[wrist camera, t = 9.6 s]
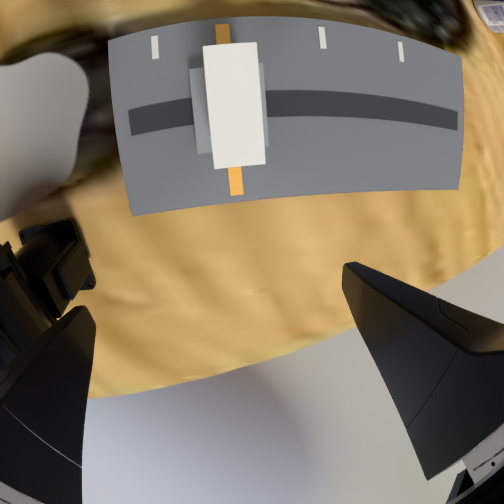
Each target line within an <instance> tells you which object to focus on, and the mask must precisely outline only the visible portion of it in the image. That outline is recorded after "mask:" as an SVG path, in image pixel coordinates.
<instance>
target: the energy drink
mask: <svg viewBox="0 0 504 504" xmlns="http://www.w3.org/2000/svg"><path fill="white" fill-rule="evenodd" d="M473 3H474V6H475V9H476V11H477V13H478V15H479V17H480V19H481V20H482V22H483V23H484V24H485V25H486V26H487V27H488V28H489V29H490V30H491V31H493V32H495V33H504V0H473Z"/></svg>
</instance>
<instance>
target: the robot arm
mask: <svg viewBox="0 0 504 504" xmlns="http://www.w3.org/2000/svg"><path fill="white" fill-rule="evenodd" d="M68 223H70V225H71V227H70V226H69V225H68ZM23 234H24V235H25V236H24V235H23ZM19 237H20V240H21V242H22V245H23V246H22V247H21V248H20V249H19V250H18V251H17V252H16V253H15V254H14V253H13V251H12V250H11V248H12V247H11V245H10V243H9V241H7V242H5V243H4V244H3V245H1V244H0V504H82V468H81V467H82V449H83V435H84V423H85V414H86V413H85V412H86V405H87V397H88V390H89V384H90V378H91V372H92V365H93V355H94V345H95V336H96V324H95V321H94V320H93V318H92V316H91V314H90V312H89V310H88V309H87V307H86V306H84V305H83V306H76V307H74V308H73V309H71V310H70V311H69V312H68V313H66V314H65V315H64V316H63V317H61V316H62V315H63V313H64V311H65V309H66V308H67V306H68V304H69V302H70V301H71V300H73V299H74V298H75V296H76V295H77V293H78V291H79V290H90V289H93V288H94V287H95V285H96V281H95V279H94V276H93V273H92V271H91V266H90V263H89V261H88V258H87V255H86V252H85V249H84V246H83V244H82V242H81V240H80V237H79V234H78V231H77V227H76V224H75V221H74V220H73V219H72V218H65V219H61V220H57V221H52V222H48V223H44V224H40V225H36V226H32V227H28V228H24V229H22V230H21V231H20V232H19ZM89 282H90V283H91V284H90V283H89ZM342 290H343V292H344V295H345V297H346V300H347V302H348V305H349V308H350V310H351V313H352V315H353V318H354V321H355V323H356V325H357V328H358V329H359V332H360V333H361V336H362V337H363V339H364V341H365V343H366V345H367V347H368V349H369V351H370V353H371V355H372V357H373V359H374V361H375V363H376V365H377V367H378V369H379V371H380V373H381V376H382V378H383V379H384V382H385V384H386V386H387V388H388V390H389V392H390V395H391V397H392V399H393V401H394V403H395V405H396V408H397V410H398V412H399V414H400V416H401V419H402V421H403V423H404V426H405V428H406V429H407V430H406V431H407V433H408V435H409V437H410V440H411V442H412V445H413V447H414V449H415V452H416V454H417V457H418V459H419V462H420V464H421V467H422V470H423V472H424V475H425V477H426V479H427V481H428V480H430V479H432V478H434V477H435V476H437V475H439V474H440V473H442V472H444V471H445V470H447V469H448V468H450V467H452V466H453V465H455V464H456V463H458V462H459V461H461V460H463V462H464V464H465V466H466V469H465V470H463V471H462V472H460V473H459V474H457V477H456V480H455V482H454V485H453V488H452V490H451V493H450V495H449V498H448V500H447V502H446V504H504V324H502V323H499V322H497V321H494V320H492V319H489V318H486V317H484V316H481V315H478V314H476V313H473V312H471V311H468V310H465V309H463V308H460V307H458V306H456V305H453V304H451V303H449V302H446V301H444V300H442V299H440V298H437V297H436V296H433V295H431V294H429V293H427V292H425V291H422V290H420V289H418V288H416V287H413V286H411V285H409V284H407V283H404V282H402V281H400V280H398V279H395V278H393V277H391V276H388V275H386V274H384V273H381V272H379V271H377V270H374V269H372V268H370V267H367V266H365V265H363V264H360V263H358V262H349V263H345V264H344V266H343V273H342ZM56 318H60V319H59V320H57V319H56Z"/></svg>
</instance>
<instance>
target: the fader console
mask: <svg viewBox="0 0 504 504" xmlns="http://www.w3.org/2000/svg"><path fill="white" fill-rule="evenodd" d="M250 42H257V52H258V63H263V70H264V83H265V96H266V110H267V125H268V140H269V147H265V162H266V164H261V165H250V166H240V167H230V168H221V169H214V161H213V152H211V153H203V154H198V151H197V143H196V134H195V125H194V115H193V106H192V95H191V85H190V73H189V69H195V68H202V67H204V57H203V46H210V45H220V44H232V43H250ZM108 52H109V71H110V84H111V95H112V104H113V113H114V121H115V128H116V135H117V142H118V148H119V154H120V160H121V166H122V171H123V176H124V181H125V186H126V191H127V196H128V200H129V205H130V209H131V213H132V216H139V215H145V214H151V213H158V212H164V211H171V210H178V209H185V208H193V207H200V206H208V205H216V204H224V203H233V202H242V201H251V200H261V199H271V198H282V197H294V196H306V195H320V194H335V193H352V192H372V191H400V190H458V187H459V180H460V172H461V162H462V151H463V135H464V88H463V72H462V61H461V57H459V56H457V55H454V54H452V53H449V52H447V51H445V50H442V49H439V48H437V47H434V46H432V45H429V44H426V43H423V42H420V41H417V40H414V39H411V38H408V37H404V36H401V35H398V34H394V33H390V32H386V31H382V30H378V29H374V28H369V27H365V26H360V25H355V24H349V23H343V22H336V21H329V20H321V19H312V18H300V17H281V16H246V17H227V18H215V19H206V20H197V21H190V22H184V23H178V24H172V25H167V26H162V27H157V28H152V29H148V30H144V31H140V32H136V33H132V34H129V35H125V36H122V37H118V38H115V39H112V40H109V41H108Z"/></svg>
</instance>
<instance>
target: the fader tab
mask: <svg viewBox="0 0 504 504" xmlns="http://www.w3.org/2000/svg"><path fill="white" fill-rule="evenodd" d="M203 57H204V67H202V68H195V69H189V73H190V85H191V95H192V106H193V115H194V125H195V134H196V143H197V151H198V154H203V153H211V152H213V161H214V169H221V168H230V167H240V166H250V165H261V164H266V162H265V147H269V140H268V125H267V110H266V96H265V83H264V70H263V63H258V52H257V42H250V43H232V44H220V45H210V46H203Z"/></svg>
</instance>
